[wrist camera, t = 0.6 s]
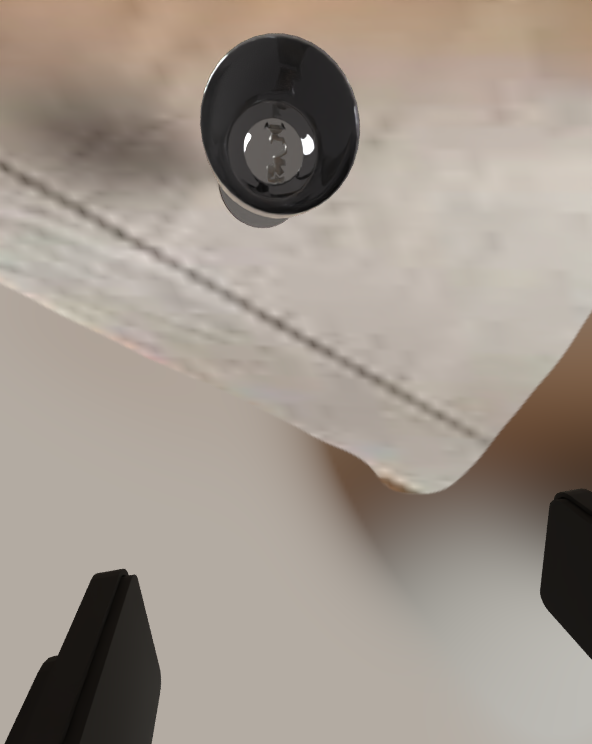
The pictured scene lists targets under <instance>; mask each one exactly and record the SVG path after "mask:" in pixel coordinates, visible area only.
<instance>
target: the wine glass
mask: <svg viewBox="0 0 592 744" xmlns="http://www.w3.org/2000/svg"><path fill="white" fill-rule="evenodd" d="M200 126H201V134H202V142H203V146H204V150H205V153H206V157H207V161H208V163H209V165H210V167H211V170H212V172H213V174H214V176H215V178H216V180H217V181H218V183H219V186H220V192H221V195H222V198H223V200H224V203H225V205H226V206H227V208H228V209H229V211H230V212H231V213H232V214H233V215H234V216H235V217H236V218H237V219H239V220H240V221H241V222H243V223H245V224H247V225H250V226H253V227H258V228H270V227H274V226H277V225H279V224H281V223H283V222H284V221H286V220H287V219H288V218H289V217H293V216H297V215H301V214H304V213H306V212H308V211H310V210H312V209H315V208H316V207H318V206H319V205H320V204H322V203H323V202H325V201H326V200H328V199H329V198H330V197H331V196H332V195H333V194H334V193H335V192H336V191H337V190H338V189H339V188H340V186H341V185H342V183H343V182H344V181H345V179H346V178H347V176H348V174H349V172H350V170H351V168H352V166H353V164H354V160H355V157H356V154H357V150H358V144H359V136H360V120H359V113H358V107H357V102H356V99H355V96H354V93H353V90H352V88H351V86H350V84H349V82H348V80H347V78H346V76H345V74H344V73H343V71H342V70H341V69H340V67H339V66H338V65H337V63H336V62H335V61H334V60H333V59H332V58H331V57H330V56H329V55H328V54H327V53H326V52H325V51H324V50H322V49H321V48H319V47H318V46H316V45H315V44H313V43H312V42H309V41H307V40H305V39H302V38H300V37H297V36H293V35H288V34H264V35H260V36H255V37H252V38H250V39H248V40H246V41H244V42H241V43H240V44H238V45H237V46H236V47H234V48H233V49H231V50H230V51H229V52H228V53H227V54H226V55H225V56H224V57H223V58H222V59H221V60H220V62H219V63H218V64H217V66H216V67H215V69H214V71H213V72H212V74H211V76H210V78H209V80H208V83H207V85H206V88H205V91H204V95H203V100H202V105H201V120H200Z"/></svg>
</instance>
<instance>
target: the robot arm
mask: <svg viewBox="0 0 592 744" xmlns="http://www.w3.org/2000/svg"><path fill="white" fill-rule="evenodd" d="M540 595H541V599H542V601H543V603H544V605H545V607H546V608H547V609H548V611H549V612H550V613H551V614H552V615H553V616H554V618H555V619H556V620H557V621H558V622H559V623H560V624H561V625H562V627H563V628H564V629H565V630H566V631H567V632H568V633H569V634H570V635H571V637H572V638H573V639H574V640H575V641H576V642H577V643H578V644H579V646H580V647H581V648H582V649H583V650H584V651H585V652H586V654H587V655H588V656H589V657H590V658H591V659H592V492H591V491H588V490H586V489H576V490H570V491H565V492H560V493H557V494H556V495H555V498H554V500H553V501H552V502H551V503H550V508H549V516H548V525H547V533H546V542H545V551H544V560H543V569H542V578H541V588H540ZM160 689H161V674H160V668H159V663H158V659H157V655H156V651H155V647H154V643H153V639H152V635H151V631H150V627H149V623H148V618H147V614H146V611H145V606H144V602H143V598H142V594H141V590H140V586H139V582H138V578H137V576H136V575H128V572H127V571H126V570H125V569H119V570H114V571H109V572H102V573H97V574H95V575H94V576H93V577H92V579H91V581H90V584H89V586H88V588H87V590H86V593H85V595H84V597H83V600H82V602H81V605H80V606H79V609H78V611H77V613H76V615H75V618H74V620H73V622H72V625H71V627H70V629H69V632H68V634H67V636H66V639H65V641H64V643H63V645H62V647H61V650H60V652H59V654H58V656H53V657H50V658H48V659H47V660H46V661H45V662H44V663H43V665H42V666H41V668H40V670H39V672H38V673H37V676H36V678H35V680H34V682H33V684H32V686H31V689H30V691H29V693H28V695H27V697H26V699H25V701H24V703H23V706H22V708H21V710H20V712H19V714H18V716H17V718H16V721H15V723H14V725H13V727H12V729H11V731H10V733H9V736H8V737H7V740H6V742H5V744H151V743H152V737H153V732H154V726H155V719H156V714H157V708H158V701H159V696H160Z"/></svg>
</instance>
